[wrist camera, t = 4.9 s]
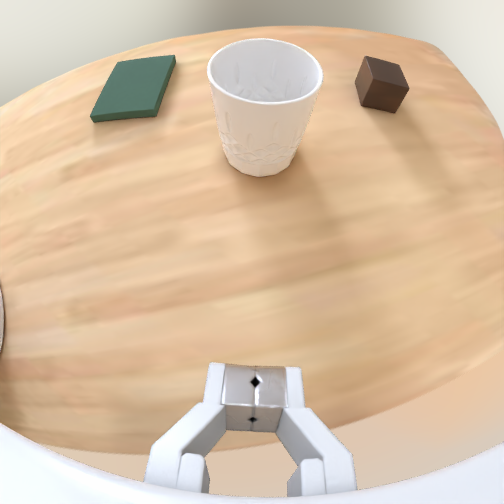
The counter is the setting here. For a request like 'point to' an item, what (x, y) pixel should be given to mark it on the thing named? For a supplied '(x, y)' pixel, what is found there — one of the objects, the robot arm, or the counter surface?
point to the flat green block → (134, 89)
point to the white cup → (263, 102)
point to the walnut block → (381, 84)
